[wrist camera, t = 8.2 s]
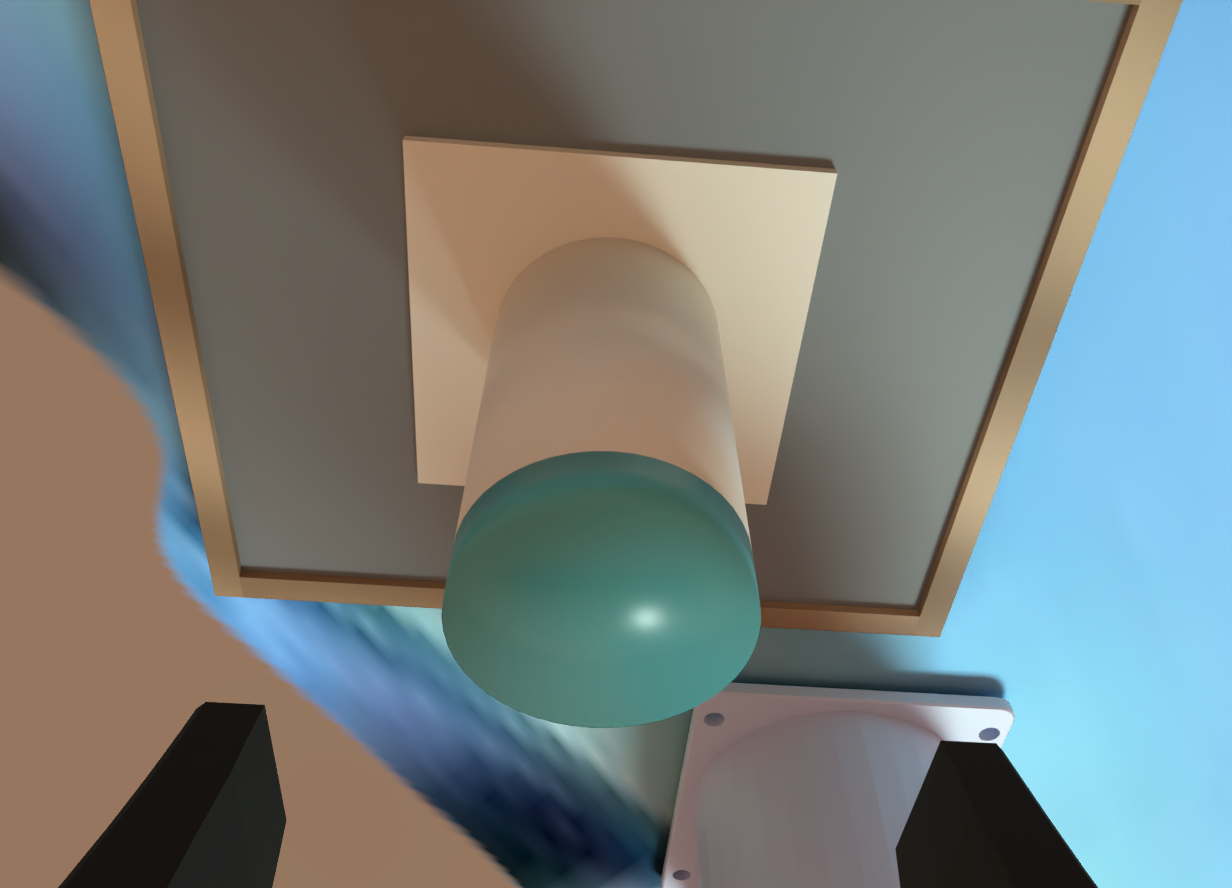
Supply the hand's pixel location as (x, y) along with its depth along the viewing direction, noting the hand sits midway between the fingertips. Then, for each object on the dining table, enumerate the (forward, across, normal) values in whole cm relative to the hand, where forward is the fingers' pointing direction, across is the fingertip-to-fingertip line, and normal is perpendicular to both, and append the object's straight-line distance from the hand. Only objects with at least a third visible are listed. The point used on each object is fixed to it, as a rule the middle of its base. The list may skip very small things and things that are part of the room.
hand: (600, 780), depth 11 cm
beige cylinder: (+9, 0, 0) cm, 9 cm away
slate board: (+10, 0, 0) cm, 10 cm away
